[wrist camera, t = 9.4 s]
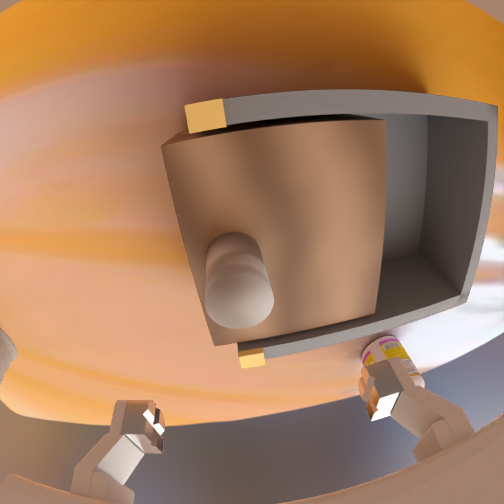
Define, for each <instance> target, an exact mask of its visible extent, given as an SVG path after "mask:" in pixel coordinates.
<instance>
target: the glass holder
mask: <svg viewBox="0 0 504 504" xmlns="http://www.w3.org/2000/svg"><path fill="white" fill-rule="evenodd" d="M16 357H17V350H16V347H15V345H14V343H13V342H12V340H11V339H10V338H9V337H8V335H7V334H6V333H5V332H4V331H3V330H1V329H0V384H1V382H2V379H3V377H4V375H5V373H6V371H7V369H8V367H9V365H10V363H11V362H12V360H14V359H15V358H16Z"/></svg>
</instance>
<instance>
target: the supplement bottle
mask: <svg viewBox="0 0 504 504" xmlns="http://www.w3.org/2000/svg"><path fill="white" fill-rule="evenodd" d="M396 356H398V357H399V358H400V359H401V361H402V363H403V364H404V366H405V368H406V369H407V371H408V373H409V375H410V376H411V378H412V380H413V382H414V384H415V385H416V386H418V385H420V386H421V387H423V388H424V380H423V379H422V377H421V375H420V373H419V372H418V370H417V369H416V367H415V365H414V364H413V362H412V360H411V359H410V357H409V356H408V354H407V353H406V351H405V349H404V348H403V346H402V345H401V343H400V342H399V340H398V339H397V338H395V337H393V336H384V337H381V338H378V339H377V340H375V341H373V342H372V343H371V344H370V345H368V346H367V348H366V349H365V350H364V352H363V354H362V363H363V365H364V366H367V365H370V364H374V363H377V362H380V361H383V360H387V359H390V358H393V357H396Z"/></svg>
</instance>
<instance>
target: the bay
mask: <svg viewBox="0 0 504 504" xmlns="http://www.w3.org/2000/svg"><path fill="white" fill-rule="evenodd" d="M184 107H185V113H186V118H187V124H188V130H189V134H191V133H196V132H201V131H206V130H212V129H217V128H223V127H227V126H226V125H231V124H238V123H244V122H252V121H259V120H267V119H276V118H286V117H297V116H309V115H325V114H354V115H360V116H366V117H372V118H378V119H383V120H386V138H387V189H386V213H385V229H384V242H383V253H382V262H381V271H380V279H379V287H378V294H377V301H376V308H375V313H374V314H370V315H367V316H363V317H359V318H355V319H351V320H347V321H343V322H339V323H334V324H330V325H326V326H321V327H317V328H312V329H308V330H303V331H298V332H293V333H288V334H283V335H278V336H273V337H267V338H262V339H256V340H250V341H245V342H238V343H237V344H238V354H239V360H240V363H241V367H242V369H244V368H250V367H256V366H262V365H265V359H269V358H274V357H279V356H284V355H289V354H294V353H299V352H304V351H308V350H313V349H317V348H322V347H326V346H330V345H334V344H338V343H342V342H346V341H350V340H354V339H357V338H361V337H365V336H368V335H372V334H375V333H379V332H382V331H385V330H389V329H392V328H395V327H399V326H402V325H405V324H408V323H411V322H414V321H417V320H420V319H423V318H426V317H429V316H432V315H434V314H437V313H440V312H443V311H445V310H448V309H451V308H453V307H456V306H459V305H461V304H464V303H466V302H467V299H468V296H469V293H470V290H471V287H472V283H473V280H474V277H475V273H476V270H477V266H478V263H479V259H480V255H481V251H482V247H483V243H484V238H485V234H486V229H487V224H488V219H489V213H490V207H491V201H492V194H493V186H494V178H495V168H496V156H497V136H498V106H495V105H491V104H486V103H482V102H477V101H471V100H466V99H460V98H454V97H448V96H441V95H433V94H424V93H415V92H403V91H389V90H364V89H329V90H304V91H289V92H277V93H267V94H257V95H249V96H242V97H234V98H228V99H222V98H221V99H215V100H209V101H203V102H198V103H193V104H188V105H184Z"/></svg>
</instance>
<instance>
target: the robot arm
mask: <svg viewBox="0 0 504 504" xmlns="http://www.w3.org/2000/svg"><path fill="white" fill-rule="evenodd" d="M361 374H362V377H361V378H360V379H359V392H360V395H361V397H362V400H364V401H365V402H367V406H366V410H367V413H368V415H369V418H370V420H371V421H373V420H377V419H380V418H383V417H386V416H389V415H390V417H392V418H393V419H394V420H396V421H397V422H398V423H400V424H401V425H402V426H404V427H405V428H406V429H408V430H409V431H410V432H412V433H413V434H415V435H416V436H417V437H418V438H420V439H421V440H420V441H419V442H418V444H417V445H416V446H415V447H414V449H413V453H414V456H415V458H416V460H417V463H416V464H414V465H411V466H409V467H406V468H404V469H401V470H399V471H397V472H394V473H391V474H389V475H386V476H384V477H381V478H378V479H375V480H372V481H370V482H367V483H363V484H361V485H357V486H354V487H351V488H348V489H344V490H340V491H337V492H333V493H329V494H325V495H320V496H316V497H312V498H307V499H302V500H297V501H292V502H285V503H280V504H504V413H503V414H501V415H500V416H498V417H497V418H495V419H494V420H493V421H491V422H490V423H488V424H487V425H485V426H484V427H482V428H480V429H479V430H477V431H476V432H474V430H473V428H472V426H471V424H470V422H469V421H468V419H467V417H466V415H465V413H464V412H463V410H462V408H460V407H458V406H456V405H454V404H452V403H451V402H449V401H447V400H445V399H443V398H442V397H440V396H438V395H436V394H434V393H432V392H430V391H429V390H427V389H425V388H423V387H421V386H420V385H418V386H416V385H415V384H414V382H413V380H412V378H411V376H410V375H409V373H408V371H407V369H406V368H405V366H404V364H403V363H402V361H401V359H400V358H399V357H398V356H396V357H393V358H390V359H387V360H383V361H380V362H377V363H374V364H370V365H367V366H364V367H363V368H362V370H361ZM164 430H165V422H164V417H163V414H162V412H161V411H160V410H159V409H157V408H156V404H155V403H154V401H153V400H117V402H116V404H115V407H114V412H113V417H112V421H111V426H110V431H109V433H107V434H105V435H104V436H103V437H102V438H101V440H100V441H99V442H98V443H97V444H96V445H95V446H94V447H93V448H92V449H91V450H90V451H89V452H88V454H87V455H86V456H85V457H84V458H83V459H82V460H81V461H80V462H79V463H78V464H77V465H76V466H75V470H74V475H73V481H72V486H71V492H70V493H69V492H66V491H62V490H59V489H55V488H52V487H48V486H46V485H43V484H40V483H37V482H34V481H31V480H29V479H26V478H23V477H21V476H18V475H16V474H9V475H8V476H6V477H4V478H3V479H2V480H1V481H0V504H134V492H133V491H132V490H131V489H129V488H127V487H126V486H124V483H125V482H126V480H127V479H128V477H129V476H130V474H131V473H132V471H133V470H134V469H135V467H136V466H137V464H138V463H139V461H140V460H141V458H142V457H143V455H144V453H163V443H164V439H163V438H162V436H161V434H162V433H163V432H164Z"/></svg>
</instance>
